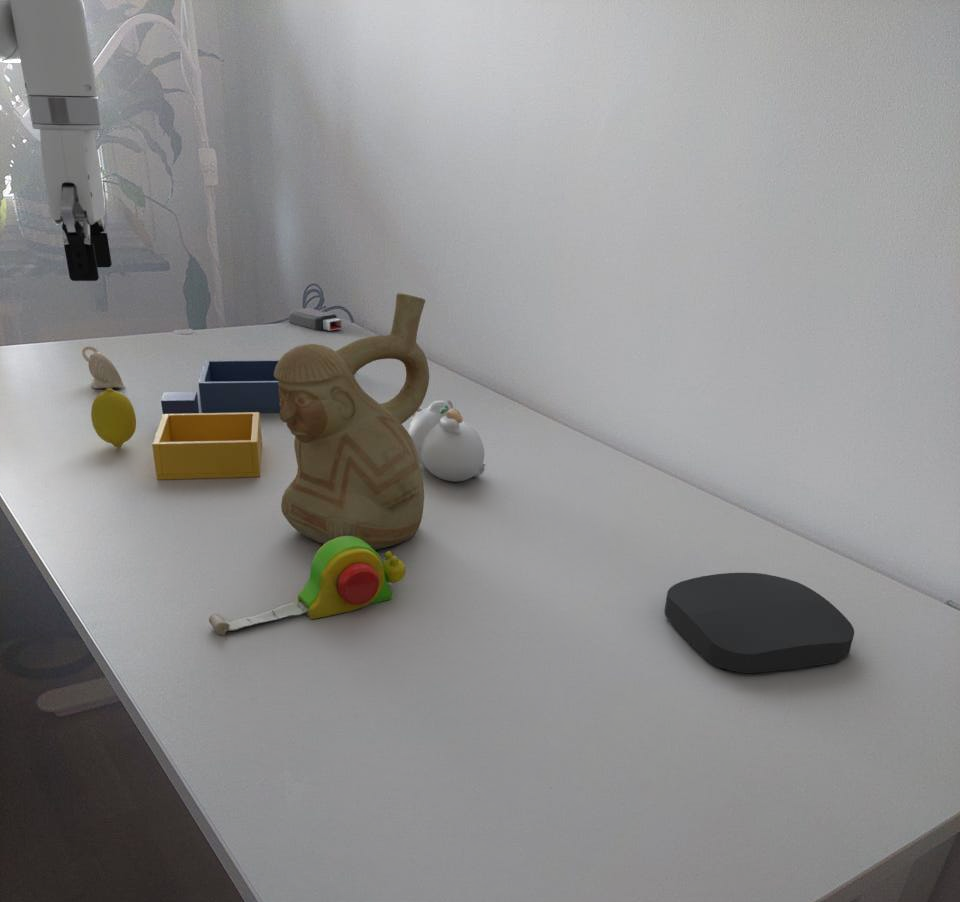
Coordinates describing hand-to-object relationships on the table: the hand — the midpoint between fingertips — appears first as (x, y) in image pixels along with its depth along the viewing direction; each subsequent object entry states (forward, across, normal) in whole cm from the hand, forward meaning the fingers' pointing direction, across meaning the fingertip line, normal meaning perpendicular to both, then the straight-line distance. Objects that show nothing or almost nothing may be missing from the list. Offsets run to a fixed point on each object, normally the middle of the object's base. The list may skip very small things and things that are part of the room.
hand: (92, 273), depth 118 cm
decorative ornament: (+22, -32, -7) cm, 40 cm away
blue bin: (+22, -22, +16) cm, 36 cm away
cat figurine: (+23, +11, +42) cm, 49 cm away
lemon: (+23, -1, 0) cm, 23 cm away
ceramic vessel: (+23, +30, +30) cm, 49 cm away
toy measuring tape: (+23, +48, +24) cm, 59 cm away
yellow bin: (+23, +6, +12) cm, 26 cm away
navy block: (+22, -10, +7) cm, 25 cm away
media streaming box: (+23, +57, +65) cm, 90 cm away
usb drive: (+22, -76, +28) cm, 84 cm away
